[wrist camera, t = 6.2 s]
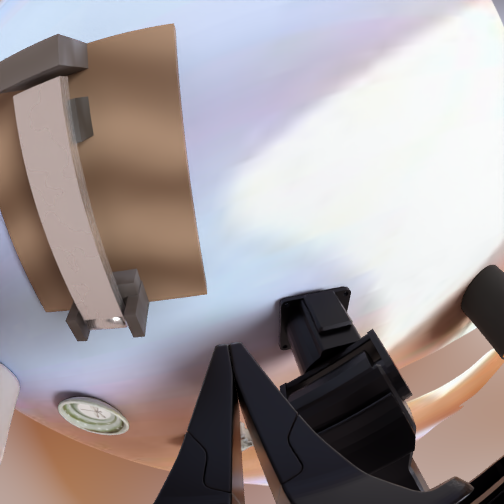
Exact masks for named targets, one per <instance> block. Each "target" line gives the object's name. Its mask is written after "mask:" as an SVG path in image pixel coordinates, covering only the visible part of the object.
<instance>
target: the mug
mask: <svg viewBox="0 0 504 504" xmlns="http://www.w3.org/2000/svg"><path fill="white" fill-rule="evenodd" d="M461 307H462V310H463V312H464V313H465V314H466V315H467V316H468V317H469V319H470V320H471V321H472V322H473V323H474V324H475V326H476V327H477V328H478V329H479V330H480V332H481V333H482V334H483V335H484V336H485V338H486V339H487V340H488V341H489V343H490V344H491V345H492V346H493V348H494V349H495V350H496V352H497V353H498V354H499V355H500V357H501V358H502V359H504V272H503V271H501V270H500V269H499V268H498V267H497V266H496V265H489V266H487V267H486V268H484V269H483V270H482V271H481V272H480V273H479V274H478V275H477V276H476V277H475V278H474V280H473V281H472V282H471V284H470V285H469V287H468V288H467V290H466V292H465V294H464V297H463V299H462V304H461Z"/></svg>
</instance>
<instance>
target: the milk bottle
mask: <svg viewBox="0 0 504 504" xmlns="http://www.w3.org/2000/svg"><path fill="white" fill-rule="evenodd" d="M19 391H20V385H19V381H18V379H17V378H16V376H15V375H14V374H13V373H12V372H11V371H10V370H9V369H8V368H7V367H5V366H4V365H3V364H1V363H0V464H1V461H2V458H3V454H4V450H5V446H6V441H7V437H8V432H9V428H10V424H11V420H12V416H13V412H14V409H15V405H16V401H17V398H18V394H19Z"/></svg>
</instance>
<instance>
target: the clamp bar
mask: <svg viewBox="0 0 504 504" xmlns="http://www.w3.org/2000/svg"><path fill="white" fill-rule="evenodd" d="M13 100H14V108H15V116H16V122H17V128H18V134H19V140H20V145H21V150H22V154H23V159H24V163H25V167H26V172H27V176H28V179H29V183H30V187H31V190H32V194H33V197H34V201H35V204H36V207H37V210H38V213H39V217H40V220H41V222H42V225H43V228H44V231H45V234H46V237H47V239H48V242H49V245H50V247H51V250H52V252H53V255H54V257H55V260H56V262H57V265H58V267H59V269H60V272H61V274H62V276H63V278H64V281H65V283H66V285H67V287H68V289H69V292H70V294H71V296H72V298H73V300H74V302H75V304H76V306H77V308H78V310H79V312H80V314H81V316H82V318H83V320H84V321H85V323H86V326H87V328H88V329H89V330H101V329H113V328H124V327H128V324H127V322H126V320H125V317H124V312H125V304H124V302H123V299H122V297H121V294H120V291H119V289H118V286H117V284H116V281H115V278H114V276H113V273H112V270H111V267H110V264H109V261H108V259H107V256H106V253H105V250H104V247H103V244H102V240H101V237H100V234H99V231H98V227H97V224H96V221H95V217H94V214H93V210H92V207H91V203H90V199H89V195H88V191H87V187H86V183H85V179H84V175H83V170H82V166H81V161H80V156H79V151H78V146H77V141H76V135H75V129H74V123H73V117H72V110H71V102H70V94H69V85H68V76H59V77H56V78H54V79H51V80H49V81H46V82H44V83H41V84H39V85H37V86H34V87H32V88H30V89H27V90H25V91H23V92H21V93H19V94H17V95H15V96H13Z"/></svg>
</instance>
